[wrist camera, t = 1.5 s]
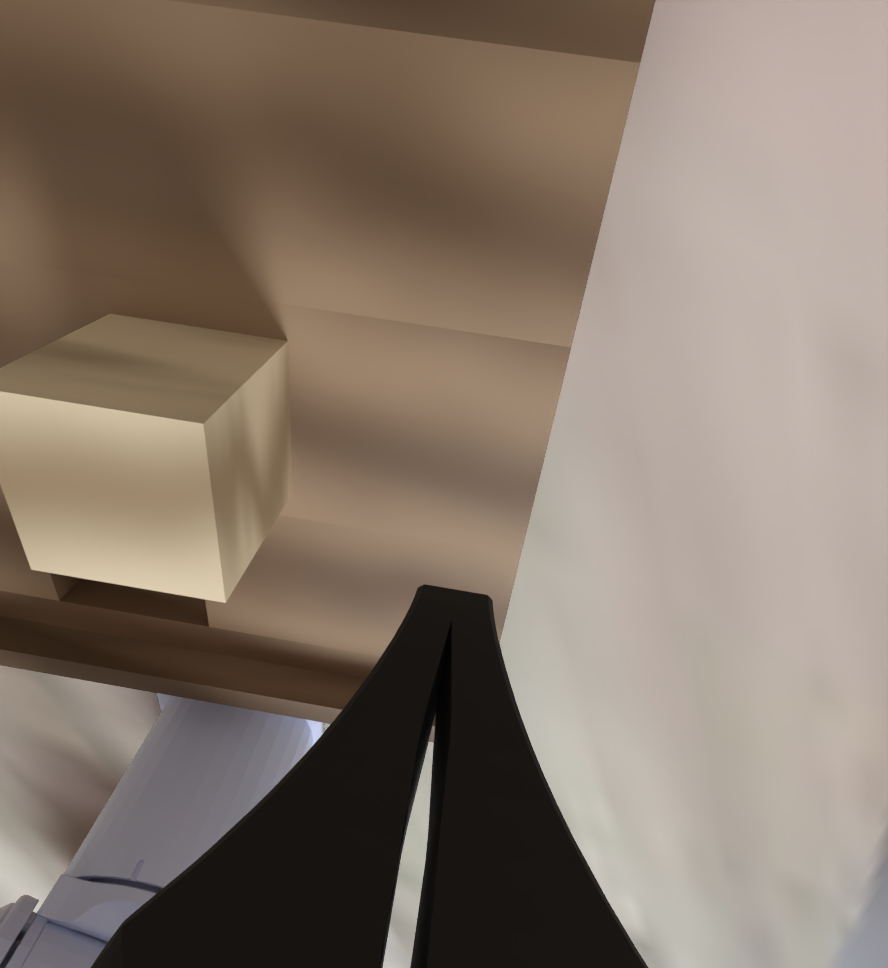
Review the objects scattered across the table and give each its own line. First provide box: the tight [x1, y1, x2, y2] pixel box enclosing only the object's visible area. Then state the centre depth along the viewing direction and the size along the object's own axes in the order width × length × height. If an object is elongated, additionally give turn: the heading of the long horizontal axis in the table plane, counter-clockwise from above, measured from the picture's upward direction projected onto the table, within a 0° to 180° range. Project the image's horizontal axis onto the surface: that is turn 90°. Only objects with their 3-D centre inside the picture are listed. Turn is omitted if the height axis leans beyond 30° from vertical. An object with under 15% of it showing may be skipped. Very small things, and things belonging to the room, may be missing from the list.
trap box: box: [0, 0, 655, 742], centre depth 18 cm, size 24×32×4 cm
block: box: [0, 314, 293, 603], centre depth 15 cm, size 5×5×5 cm
